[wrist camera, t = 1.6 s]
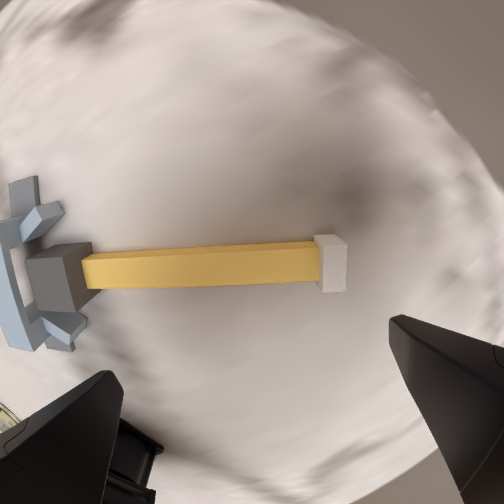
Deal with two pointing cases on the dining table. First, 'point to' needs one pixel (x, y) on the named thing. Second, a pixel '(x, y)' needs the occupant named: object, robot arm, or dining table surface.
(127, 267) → the yellow handled hammer
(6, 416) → the coffee can
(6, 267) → the blue-grey bracket
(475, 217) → the dining table surface
